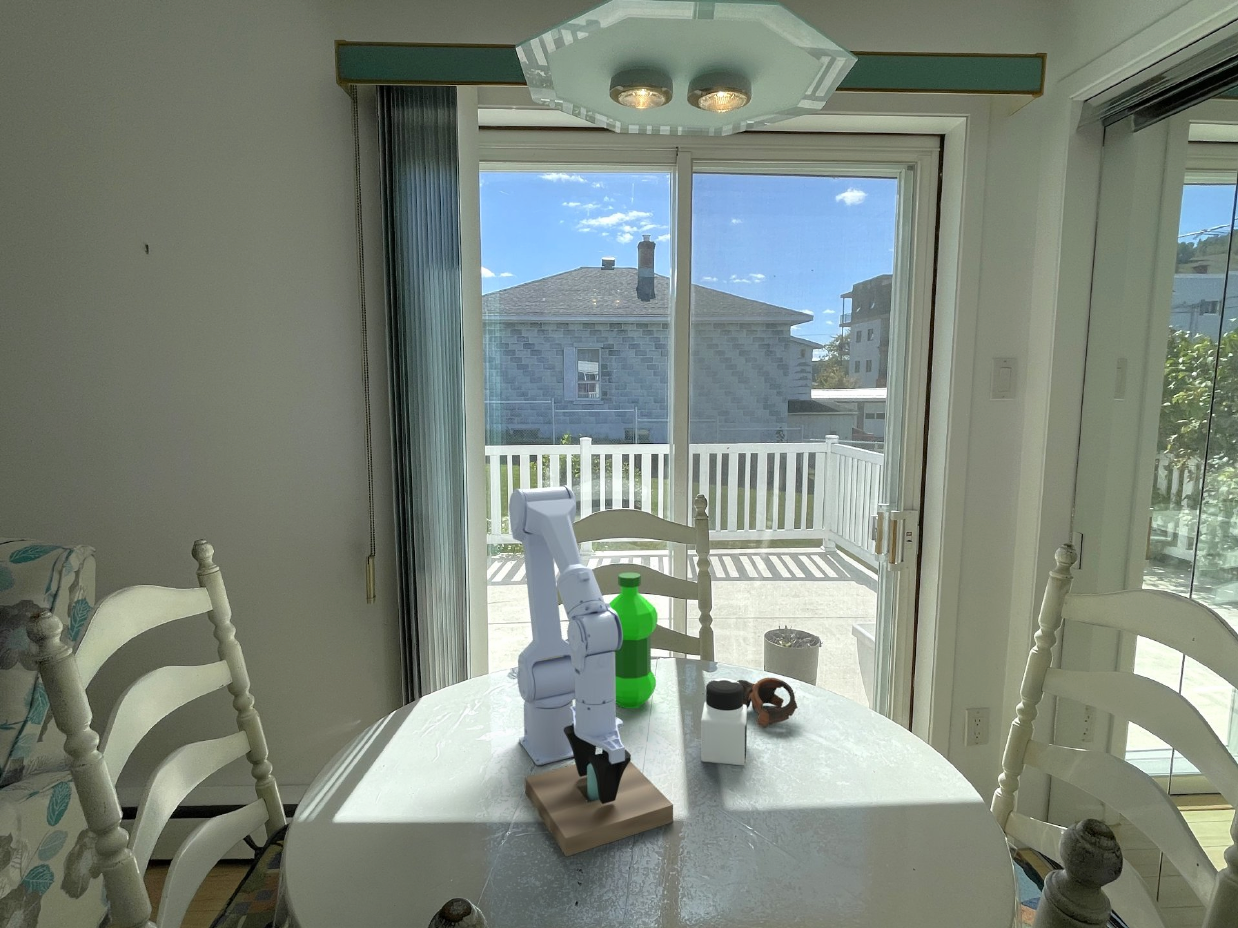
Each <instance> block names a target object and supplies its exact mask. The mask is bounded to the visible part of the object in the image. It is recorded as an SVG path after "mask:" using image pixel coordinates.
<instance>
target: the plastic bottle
mask: <svg viewBox="0 0 1238 928" xmlns="http://www.w3.org/2000/svg"><path fill="white" fill-rule="evenodd" d="M617 576H618V577H617V579H618V580H617V584H618V585H617V586H619V587H620V593H619V594H618V595H617V596H616V597H614V598H613V599H612V600H611V601H610V602H609V604H610V606H611V608H612V609H613V610H615V611H616V613H617V614H618V616H619V619H620V622H621V626H622V631H623V641H622V645H621V648H620V649H619V650H615V651H614V652H615V693H616V695H615V697H616V704H617V706H618V707H620V708H621V707H622V708H624V709H636V708H639V707H643V705H644V704H645V703H646V702H648V700H649V699H650V698H651V697H652V695H653V693H654V692H655V689H656V686H657V679H656V677H655V673H653V671H652V658H651V657H652V646H651V645H652V644H651V642H652V640H651V639H652V636H651V635H652V633H653V632H654V631H655V629H656V628H657V624H658V612H657V609H656V607H655V606H654V605H653V604H652V603H651V602H650V601H649V600H648V599H646V598H645V597H644V596H642V595H641V594H640V593H639V587H640V586H641V584H642V575H641V574H640V573H637V572H623V573H619V574H618V575H617Z"/></svg>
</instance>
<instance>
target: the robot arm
mask: <svg viewBox="0 0 1238 928" xmlns="http://www.w3.org/2000/svg"><path fill="white" fill-rule="evenodd" d="M508 513H509V522H510V531H511V534H512V538H513V540H515V541H519V542H520V543H521V546H522V550H523V552H522V553H523V558H524V566H525V567H524V568H525V578H526V587H527V597H528V607H529V616H530V623H531V625H530V627H531V634H532V640H531V642H530V643H528V645H527V646H526V647H525V648H524V649H523V650H522V651H520V654H519V655H518V659H517V667H518V668H517V687H518V691H519V694H520V697H521V699H522V700H523V701H524V702H523V727H524V728H523V730H524V731H523V732H524V734H523V735H524V736H521V737H519V738H518V741H519V742H520V744H521V745H522V747H523V748H524V750H525V752H526V753H527V754H528V755H529V757H530V758H531V760H532V761H533V762H534V764H535V765H536V766H542V765H546V764H550V763H555V762H557V761H558V762H559V761H562V760H566V759H570V758H574V762H575V763H574V764H576V768H577V771H578V774H579V776H580V777H582V776H585V775H587V766H588V765H589V764H590V763H591V765H592V767H593V769H594V772H595V776H596V780H597V788H598V795H599V799H600V802H601V803H602V804H605V803H608V802H612V801H615V799H616V796H617V792H618V788H619V784H620V780H621V777H622V775H623V772H624V770H625V768H626V767H627V765H628V763H629V762H630V761H631V759H632V754H631V753H630V752H629V751H628V750H627V749H626V747H625V745H624V744H623V743H622V740H621V736H620V732H619V729H622V728H623V726H624V721H623V720H622V719H620V718H619V717H616V716H617V714H616V709H617V708H616V704H617V703H616V697H615V695H616V693H615V652H614V651H615V650H619V649H620V648H621V645H622V641H623V631H622V626H621V622H620V619H619V616H618V614H617V613H616V611H615V610H613V609H612V608H611V606H610V604H609V603H610V602H609V603H606V602H605V599H604V597H603V595H602V592H601V590H600V586H599V584H598V582H597V578H596V576H595V574H594V571H593V569H591V568H590V567H588V566H586V565H584V564H583V562H582V558H581V554H580V550H579V549H580V548H579V547H578V542H577V539H576V535H575V531H574V527H573V526H574V524H575V519H576V513H577V499H576V495H575V493H574V491H573V490H572V488H571V487H570V486H569V485H561V486H549V487H538V488H536V487H535V488H524V489H523V488H515V489H514V490H513V491H512V492H511V494H510V497H509V503H508ZM554 562H555V563H554ZM555 565H556V567H557V569H558V572H559V573H560V575H559V576H558V578H557V580H556V570H555ZM558 593H559V596H560V599H561V602H562V605H563V608H564V611H565V613H566V616H567V620H568V624H567V625H568V626H567V630H566V634H567V640H566V639H564V638H563V634H562V625H561V624H562V623H561V616H560V606H559V596H558ZM573 700H574V702H575V703H574V704H573ZM597 748H599V749H601V752H600V753H597V754H596V752H597ZM631 762H632V761H631Z"/></svg>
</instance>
